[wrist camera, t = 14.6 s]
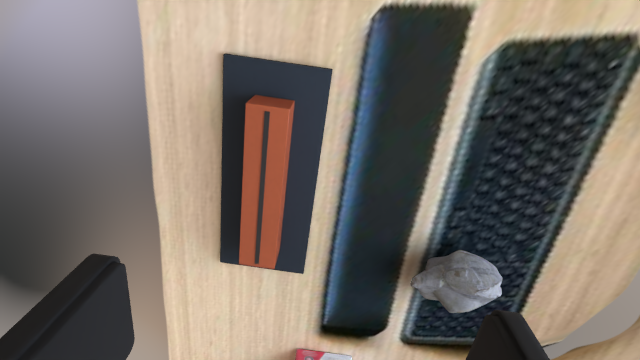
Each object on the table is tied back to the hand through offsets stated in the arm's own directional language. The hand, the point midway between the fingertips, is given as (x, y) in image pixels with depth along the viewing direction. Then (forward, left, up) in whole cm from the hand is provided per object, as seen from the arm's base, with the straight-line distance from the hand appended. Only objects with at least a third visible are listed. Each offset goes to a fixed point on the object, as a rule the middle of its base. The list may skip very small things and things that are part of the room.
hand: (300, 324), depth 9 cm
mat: (+10, +6, -30) cm, 32 cm away
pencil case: (+10, +6, -30) cm, 32 cm away
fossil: (-6, +25, -31) cm, 40 cm away
